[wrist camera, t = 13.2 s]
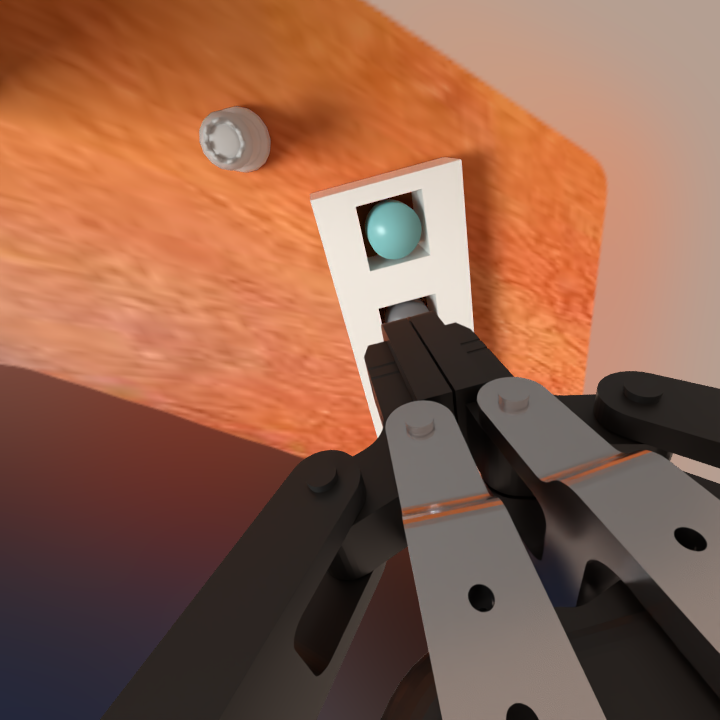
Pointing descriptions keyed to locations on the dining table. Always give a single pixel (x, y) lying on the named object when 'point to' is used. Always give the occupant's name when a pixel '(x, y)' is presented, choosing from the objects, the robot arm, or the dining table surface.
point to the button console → (405, 275)
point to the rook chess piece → (235, 139)
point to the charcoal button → (405, 310)
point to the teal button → (393, 229)
